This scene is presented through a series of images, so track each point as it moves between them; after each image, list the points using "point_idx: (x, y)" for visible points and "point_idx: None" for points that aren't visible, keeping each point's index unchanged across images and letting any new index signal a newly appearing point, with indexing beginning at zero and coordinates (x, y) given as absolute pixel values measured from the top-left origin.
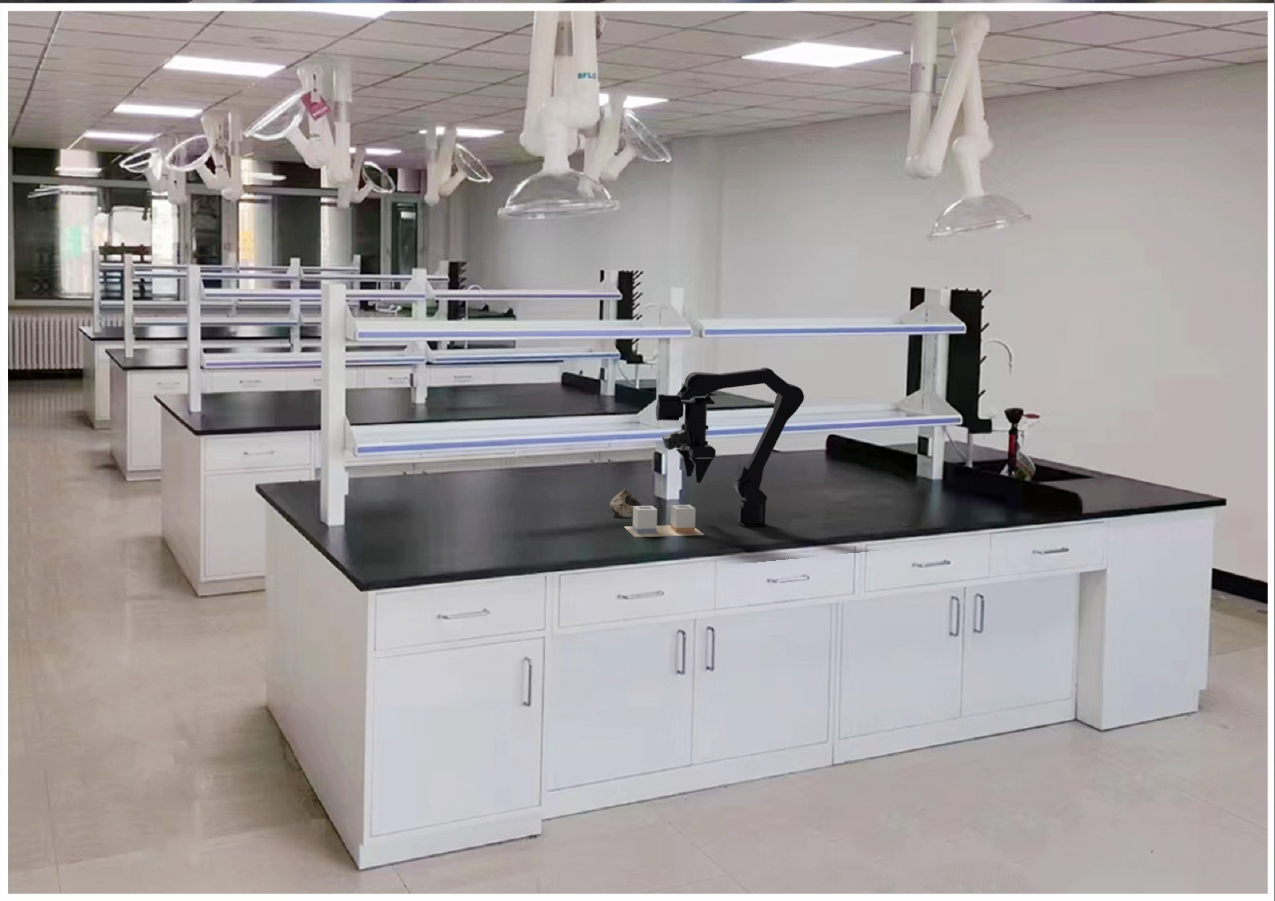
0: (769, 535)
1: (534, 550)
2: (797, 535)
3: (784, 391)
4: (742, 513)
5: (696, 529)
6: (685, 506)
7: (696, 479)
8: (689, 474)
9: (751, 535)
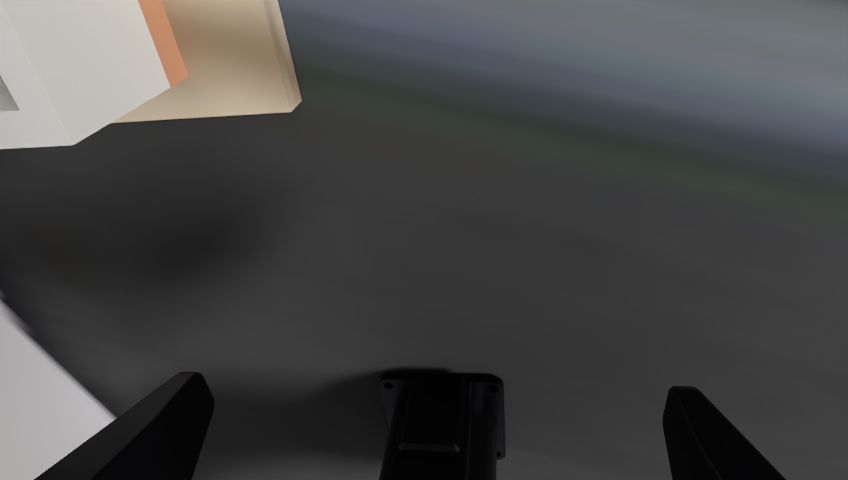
0: (223, 404)
1: None
2: (244, 474)
3: None
4: (403, 423)
5: (145, 113)
6: (17, 88)
7: (143, 400)
8: (673, 433)
9: (206, 349)
